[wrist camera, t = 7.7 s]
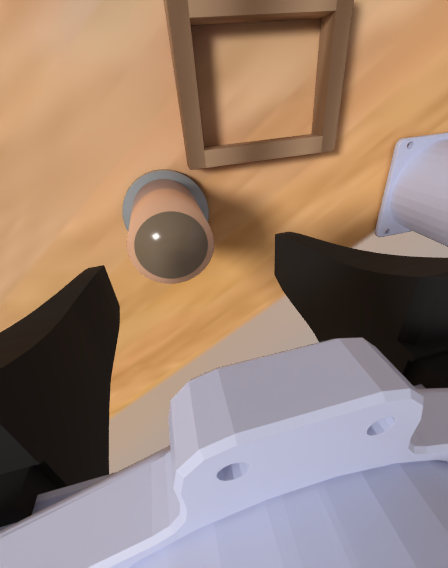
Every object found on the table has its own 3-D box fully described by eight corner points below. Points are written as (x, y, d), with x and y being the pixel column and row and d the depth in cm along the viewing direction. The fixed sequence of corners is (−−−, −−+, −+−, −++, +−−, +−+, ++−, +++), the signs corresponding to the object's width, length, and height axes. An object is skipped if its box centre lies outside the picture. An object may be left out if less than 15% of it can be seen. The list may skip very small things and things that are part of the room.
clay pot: (195, 177, 19) (213, 201, 14) (198, 239, 21) (215, 278, 16) (126, 180, 18) (118, 207, 13) (138, 244, 20) (135, 288, 15)
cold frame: (339, -7, 16) (355, -17, 14) (322, 148, 20) (334, 150, 19) (163, 0, 14) (165, -11, 13) (187, 166, 18) (190, 169, 17)
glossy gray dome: (202, 163, 19) (203, 165, 18) (211, 244, 22) (212, 246, 22) (111, 175, 18) (110, 177, 17) (135, 257, 21) (135, 260, 21)
